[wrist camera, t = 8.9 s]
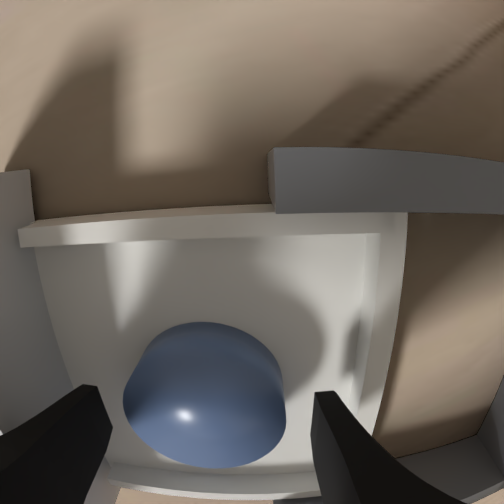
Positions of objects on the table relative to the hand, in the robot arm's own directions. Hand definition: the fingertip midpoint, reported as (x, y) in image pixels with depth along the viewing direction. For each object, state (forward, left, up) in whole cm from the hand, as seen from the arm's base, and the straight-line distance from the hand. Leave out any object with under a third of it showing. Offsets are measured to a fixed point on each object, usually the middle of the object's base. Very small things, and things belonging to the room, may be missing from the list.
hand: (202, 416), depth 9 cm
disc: (0, 0, -2) cm, 2 cm away
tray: (0, 0, -2) cm, 2 cm away
